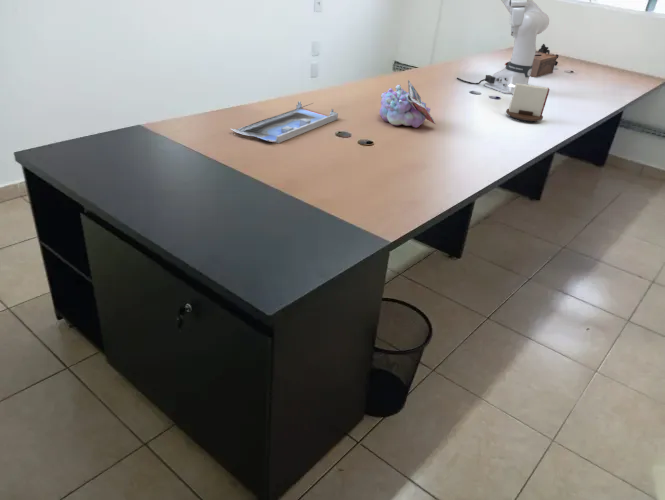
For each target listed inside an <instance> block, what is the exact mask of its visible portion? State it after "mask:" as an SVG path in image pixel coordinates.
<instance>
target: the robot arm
mask: <svg viewBox="0 0 665 500" xmlns="http://www.w3.org/2000/svg"><path fill="white" fill-rule="evenodd" d="M500 1H501V2H502V4H503V6H504V7H505V8H506V10H507V11H508V12H509V18H508V19H509V20H508V23H509V25H510V36H511V37H512V38H514V42H513V49H512V52H511V56H510V60H509V61H506V62H505V63H504V66H505V67H504V68H502V69H501V70H498V71H497V72H495V73H493V74H492V75H491V74H486V75H485V77H484V79H481V80H480V81H479V82H472V81H468V80H464V79H461V78H460V77H456V80H458V81H461V82H462V83H467V84H470V85H480V84H481V83H482V82H485V83H484V87H487V88H489V89H492V90H495V91H496V92H497V91H498V92H501V93H503V94H508V95H509V94H510V95H513V91H514V88H515V84H516V83H519V84H526V85H529V81H530V77H531V76H530V74H531V71H532V67H533V66H532V64H533V60H534V57H535V53H536V51H537V47H536V44H537V35H540V34H542V33H544V31H545V30H546V29H547V28H548V27H549V25H550V17H549V15H548V14H547V13H545V12H544V11H543V10H542V8H541V7H539V5H538V4H537V3H536V2H535V1H534V0H500Z"/></svg>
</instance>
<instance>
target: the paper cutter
mask: <svg viewBox="0 0 665 500" xmlns="http://www.w3.org/2000/svg"><path fill="white" fill-rule="evenodd" d="M313 104H314V102H312V103H309V104H306V105H302V101H297V104H296V107H295V109H292V110H289V111H287V112H284V113H281V114H277V115H275V116H271V117H267V118H265V119H262V120H259V121H257V122H254V123H251V124H248V125H245V126H241V127H239V128H237V129H235V128H230V127H229V128H230V130H231V131H233V132H235V133H237V134H239V135H243V136H249V137H255V138H258V139H261V140H263V141H267V142H270V143H271V142H272V143H276V144H280V143H282V142H285V141H287V140H290V139H292V138H295V137H297V136H299V135H303V134H304V133H307V132H310V131H313V130H315V129H317V128H320V127H322V126H324V125H327V124H330V123H331V122H332V123H333V122H334V121H337V120H338V119H339V112H336V111H334V108H331V111H330V112H329V115H326V114H322V113H319V112H315V111H312V110H310V109H309V110H308V109H306V108H305V107H307V106H311V105H313Z"/></svg>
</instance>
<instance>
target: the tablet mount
mask: <svg viewBox="0 0 665 500" xmlns="http://www.w3.org/2000/svg"><path fill="white" fill-rule="evenodd" d="M537 52H542V53H546V54H550V52H551V50H550V49H549V47H548V46H546V44H545V43H543V44H541V46H540V48H539V49H538V51H537ZM550 55H551V54H550ZM554 55H555V56H557V59H559V54H554ZM558 64H559V62H558V61H557V60H556V63H555V66H557V65H558Z"/></svg>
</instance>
